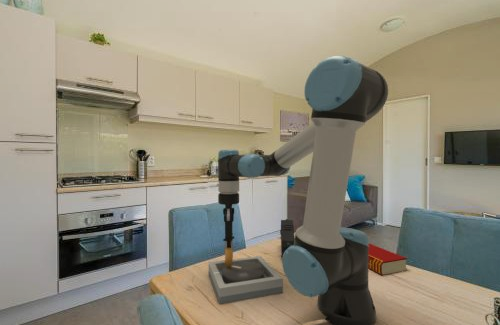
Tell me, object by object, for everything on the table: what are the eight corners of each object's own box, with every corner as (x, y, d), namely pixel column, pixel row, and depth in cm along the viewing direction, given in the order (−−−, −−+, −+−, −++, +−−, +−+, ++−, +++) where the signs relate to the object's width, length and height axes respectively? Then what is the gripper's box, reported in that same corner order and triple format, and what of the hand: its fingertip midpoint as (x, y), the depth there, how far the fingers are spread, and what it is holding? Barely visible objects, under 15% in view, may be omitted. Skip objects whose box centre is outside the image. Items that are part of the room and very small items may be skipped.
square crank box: (282, 292, 79) (282, 277, 79) (219, 304, 72) (219, 287, 72) (260, 267, 98) (260, 255, 98) (208, 274, 91) (208, 261, 91)
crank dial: (269, 271, 88) (269, 247, 88) (253, 290, 76) (253, 261, 76) (234, 265, 94) (234, 242, 94) (213, 281, 82) (213, 254, 82)
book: (345, 258, 108) (345, 246, 108) (369, 254, 112) (369, 243, 112) (380, 276, 91) (380, 262, 91) (406, 271, 95) (406, 258, 95)
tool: (292, 240, 122) (293, 216, 115) (295, 274, 105) (296, 247, 98) (279, 240, 123) (280, 215, 116) (280, 273, 106) (281, 247, 99)
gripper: (219, 190, 97) (219, 251, 97) (216, 194, 84) (217, 265, 84) (239, 190, 98) (239, 251, 98) (239, 194, 85) (239, 265, 85)
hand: (229, 257), depth 91 cm, fingers closed
